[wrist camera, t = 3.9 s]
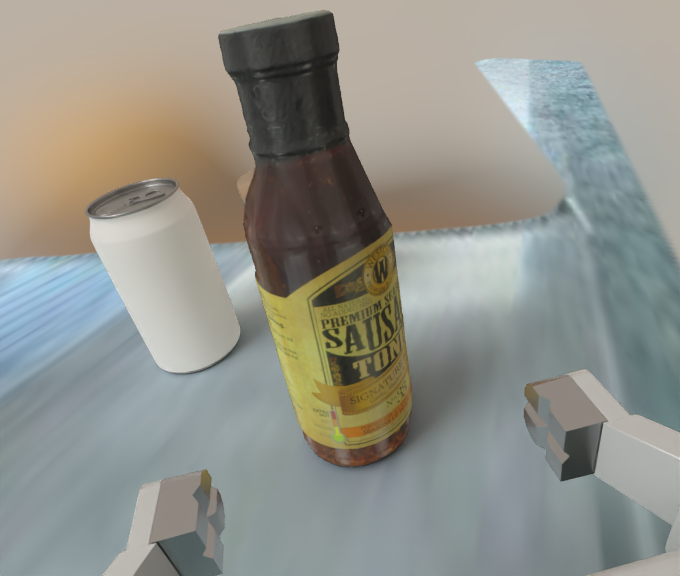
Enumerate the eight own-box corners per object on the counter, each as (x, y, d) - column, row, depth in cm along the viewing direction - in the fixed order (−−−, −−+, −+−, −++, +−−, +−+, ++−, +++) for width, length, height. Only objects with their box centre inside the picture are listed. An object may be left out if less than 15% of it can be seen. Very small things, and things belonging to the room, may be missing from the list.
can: (152, 340, 37) (79, 197, 31) (231, 309, 39) (177, 167, 32) (161, 391, 32) (74, 231, 26) (252, 352, 34) (192, 193, 27)
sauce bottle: (371, 496, 23) (254, 32, 12) (281, 440, 27) (131, 50, 16) (440, 405, 27) (397, -9, 16) (353, 368, 30) (271, 13, 20)
